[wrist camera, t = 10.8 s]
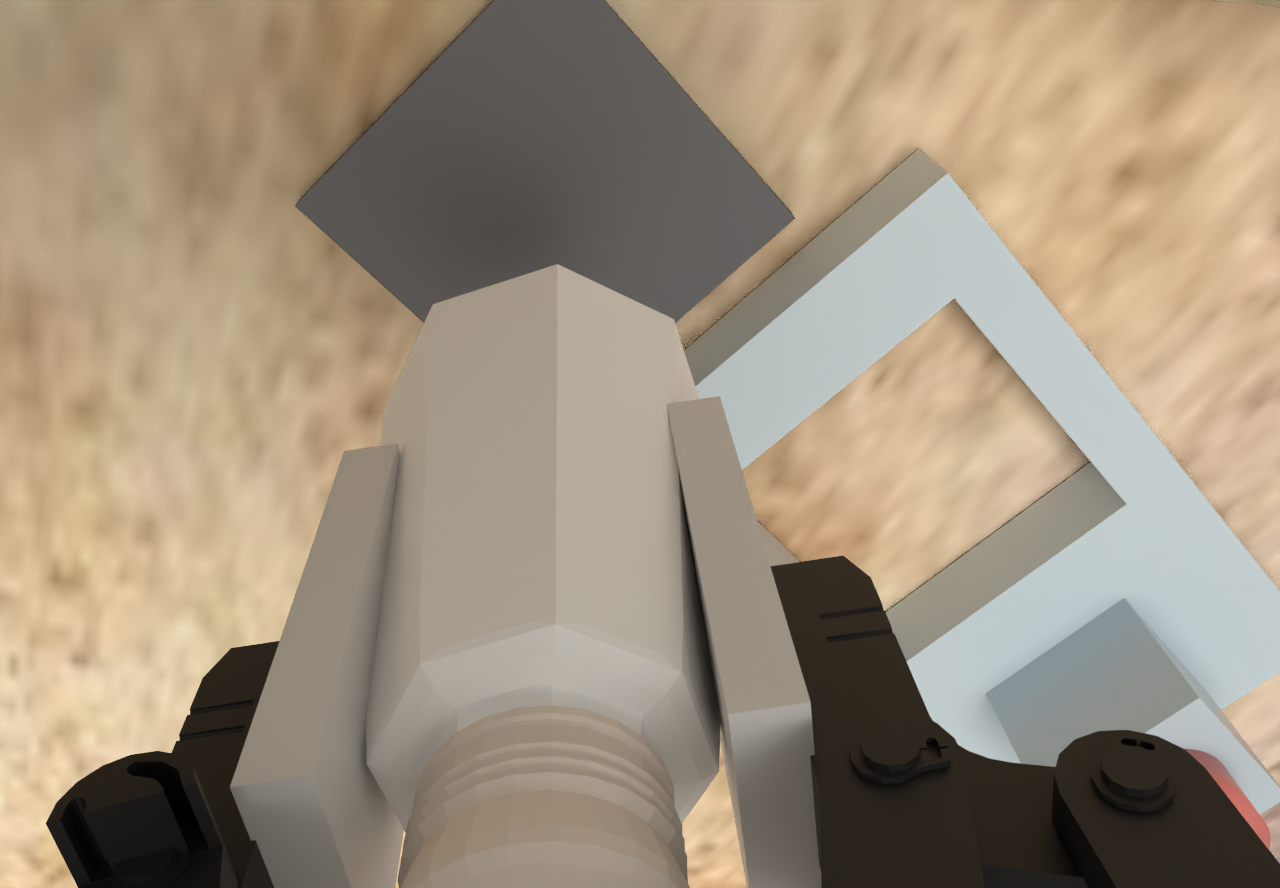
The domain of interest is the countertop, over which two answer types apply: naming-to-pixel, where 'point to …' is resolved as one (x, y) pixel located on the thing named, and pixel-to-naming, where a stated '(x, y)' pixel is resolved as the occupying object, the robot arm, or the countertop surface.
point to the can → (1261, 2)
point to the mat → (546, 169)
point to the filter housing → (1043, 533)
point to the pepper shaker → (541, 597)
